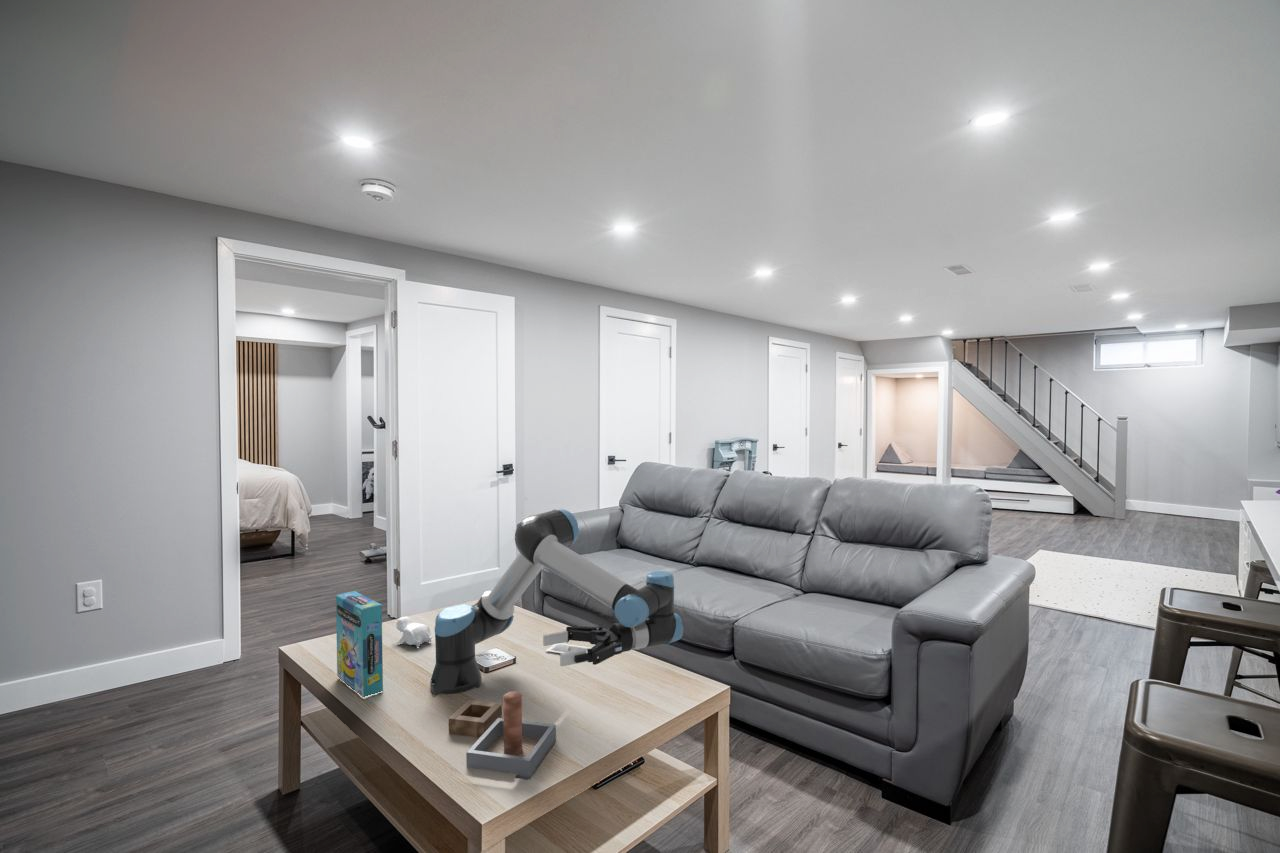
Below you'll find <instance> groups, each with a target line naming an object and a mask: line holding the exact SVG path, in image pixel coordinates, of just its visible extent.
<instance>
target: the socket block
mask: <svg viewBox="0 0 1280 853" xmlns="http://www.w3.org/2000/svg"><path fill="white" fill-rule="evenodd" d="M498 718H503V704H502V703H498V702H490V701H489V702H488V701H480V700H470V699H468V700H467V701H465V703H464V704H462V705H461V707H459V708H458V709H457V710H456V711H455V712H454V713H453V714H451V715H450V716H449V717H448V734H449V735H456V736H463V737H470V738H478V739H479V738H480V737H481V736H482V735H483V734H484V733H485V732H486V730H487V729H488V728H489V727H490V726H491V725H492V724H493V723H494V722H495V721H496V720H497V719H498Z"/></svg>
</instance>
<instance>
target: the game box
mask: <svg viewBox="0 0 1280 853" xmlns="http://www.w3.org/2000/svg"><path fill="white" fill-rule="evenodd" d="M335 604H336V605H335V606H336V607H335V609H336V611H335V612H336V613H335V614H336V616H335V617H336V618H335V620H336V677H337V676H338V677H339V678H340V679H341V680H342V681H344V682H345V683H346V684H347V685H348V686H350V687H351V688H352V689H353V690H355V691H356V692H357V693H359V694H360V695H361V696H362V697H365V696H368V695H371V694H375V693H378V692H381V691H383V692H384V684H383V683H384V680H383V679H384V678H383V677H384V674H383V673H384V672H383V671H384V670H383V665H384V664H383V604H382V603H379V602H377V601H375V600H373V599H371V598H370V597H367V596H366V595H363V594H361V593H360V592H357V591H355V590H354V591H349V592H348V591H347V592H344V593H340V594H336V595H335Z"/></svg>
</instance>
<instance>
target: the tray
mask: <svg viewBox="0 0 1280 853" xmlns="http://www.w3.org/2000/svg"><path fill="white" fill-rule="evenodd" d="M500 735H504V721H503V717H502V718H498V719H497V720H496V721H495V722H494V723H493V724H492V725H491V726H490V727H489V728H488V729H487V730H486V732H485V733H484V734H483V735H482V736H481V737H480V738H478V739H477V740H476V741H475V742H474V744H472V746H471V747H470V748H469V749H468V750H467V751H466V752H465V753H466V756H465V757H466V768H471V769H473V768H474V769H480V770H486V771H487V770H488V771H494V772H500V773H509V774H516V776H515V779H521V778H522V779H523V780H528V779H530V780H532V778H533V776H534V775H533V774H535V773H536V772H537V770H538V768H539V767H540V766H541V764H542V762H544V760H545V758H546V757H547V756H548V754H549V753H550V751H551V750H552V749H553V747H554V746H555V744H556V742H557V725H556V724H553V723H544V722H537V721H526V720H522V738H530V739H538V741H537V743H536V745H535V746H534V747H533V748H532V750H531V751H530V753H529V754H528V755H527V756H522V755H518V756H515V755H507V754H504V753H498V752H491V751H487V750H488V749H489V748H490V747H491V745H492V744H493V743H494V742H495V741H496V739H498V738H499V736H500ZM531 777H532V778H531Z"/></svg>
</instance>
